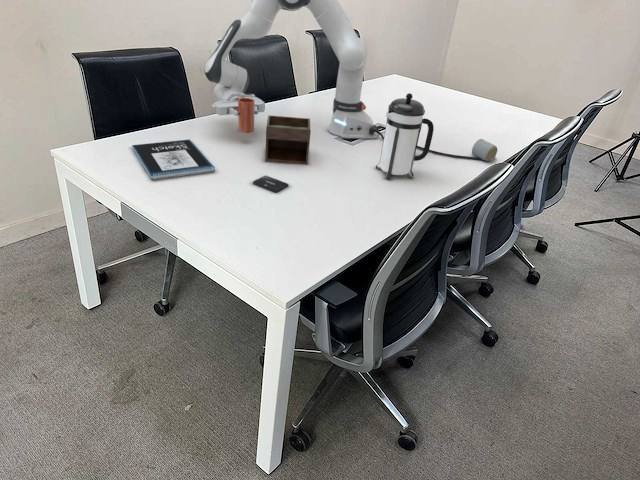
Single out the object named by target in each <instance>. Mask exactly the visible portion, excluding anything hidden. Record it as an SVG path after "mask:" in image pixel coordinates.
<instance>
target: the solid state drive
mask: <svg viewBox="0 0 640 480" xmlns="http://www.w3.org/2000/svg"><path fill="white" fill-rule="evenodd" d="M252 184H254V185H256V186H259V187H261V188H264V189H266V190H268V191H271V192H273V193H279V192H280V191H282V190H283V189H285V188H287V187H289V183H287V182H285V181H281V180H279V179H277V178H273V177H271V176H269V175H265V174H264V175H262V176H261V177H259V178H257V179H255V180H253V181H252Z"/></svg>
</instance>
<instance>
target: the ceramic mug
mask: <svg viewBox="0 0 640 480" xmlns="http://www.w3.org/2000/svg"><path fill="white" fill-rule="evenodd" d="M471 155H472V157H479V158H481V159H483V160H482V161H484V162H491V161H493V160H494V159H495V157H496V156H497V155H498V147H497V146H496V145H495V144H493V143H491V142H489V141H487V140H485V139H484V138H479V139H477V140H476V141H475V142H474V144H473V146H472V148H471Z"/></svg>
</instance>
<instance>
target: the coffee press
mask: <svg viewBox="0 0 640 480" xmlns="http://www.w3.org/2000/svg"><path fill="white" fill-rule="evenodd" d="M386 110H387V111H386V112H385V115H384V117H385V118H386V124H385V129H384V135H383V137H384V140H383V139H382V140H383V141H382V146H381V153H380V158H379V163H378V164H379V166H378V164H376V165H375V169H376V170H379V169H381V170H382V171H383V172H384V173H386V176H385V180H388V181H389V180H391V178H392V176H404V175H407V177H408V179H413V178H414V176H415V174H414V173H413V166H414V162H417V161H421V160H423V159H425V158H426V157H427V155H428V154H429V152H428V151H429V150H430V148H431V144H432V139H433V135H434V130H435V129H434V122H432V121H431V120H430V119H428V118H425V117H424V115H425V114H426V109H425V106H424V104H422V102H420V101H418V100H416V99H413V94H412V93H411V92H409V93H407V94H406V95H405V97H404V98H402V97H401V98H396V99H394V100H392V101H391V102H390V103H389V104H388V109H386ZM423 124H424V125H427V134H426V137H425V143H424V146H423V148H424V150H422V152H421V153H420V154H419V155H416V152H417V149H418V148H417V146H418V144H419V138H420V135H421V131H420V129H421V130H422V127H423V126H422V125H423ZM421 126H422V127H421ZM410 174H411V175H410Z"/></svg>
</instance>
